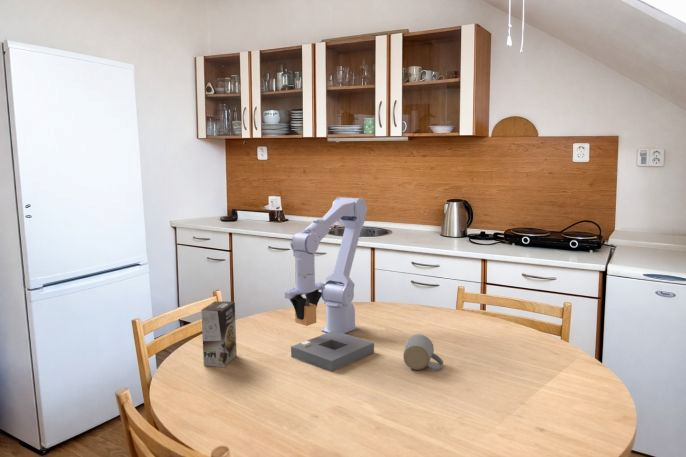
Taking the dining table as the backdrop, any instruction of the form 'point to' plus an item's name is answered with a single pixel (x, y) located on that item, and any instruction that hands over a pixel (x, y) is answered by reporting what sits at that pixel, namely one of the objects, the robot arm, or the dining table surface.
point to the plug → (307, 314)
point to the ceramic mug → (421, 353)
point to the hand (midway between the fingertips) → (305, 317)
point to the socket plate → (332, 350)
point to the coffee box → (219, 333)
